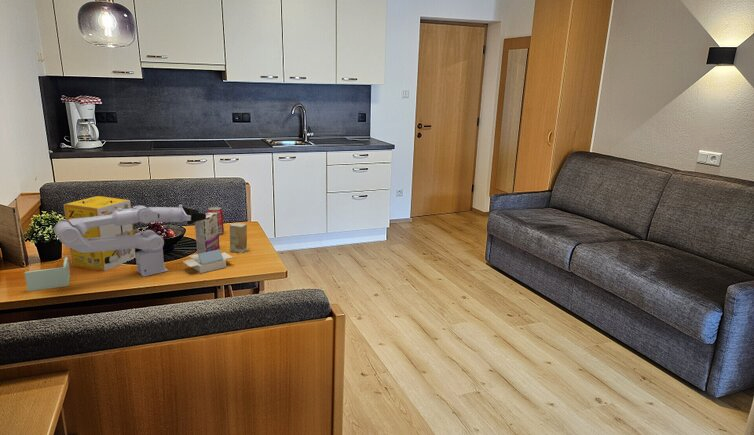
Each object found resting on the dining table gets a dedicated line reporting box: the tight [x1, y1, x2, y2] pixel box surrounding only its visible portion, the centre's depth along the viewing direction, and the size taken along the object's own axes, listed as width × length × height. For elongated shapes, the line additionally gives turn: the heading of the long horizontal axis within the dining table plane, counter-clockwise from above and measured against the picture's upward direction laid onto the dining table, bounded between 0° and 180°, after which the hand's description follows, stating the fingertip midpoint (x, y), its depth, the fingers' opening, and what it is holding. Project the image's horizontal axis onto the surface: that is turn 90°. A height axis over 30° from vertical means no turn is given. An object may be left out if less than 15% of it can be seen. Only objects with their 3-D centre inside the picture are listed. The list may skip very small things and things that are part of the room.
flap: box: [198, 248, 223, 264], centre depth 194 cm, size 9×4×1 cm
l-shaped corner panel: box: [24, 256, 71, 292], centre depth 177 cm, size 12×12×8 cm
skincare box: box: [229, 222, 248, 254], centre depth 216 cm, size 6×4×12 cm
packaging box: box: [63, 195, 136, 272], centre depth 196 cm, size 16×16×25 cm
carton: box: [182, 252, 234, 275], centre depth 198 cm, size 18×13×6 cm
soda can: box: [206, 206, 225, 236], centre depth 238 cm, size 7×7×13 cm
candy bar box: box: [194, 212, 220, 254], centre depth 213 cm, size 11×5×16 cm, turn 168°
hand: (201, 214), depth 200 cm, fingers open, 7 cm apart
